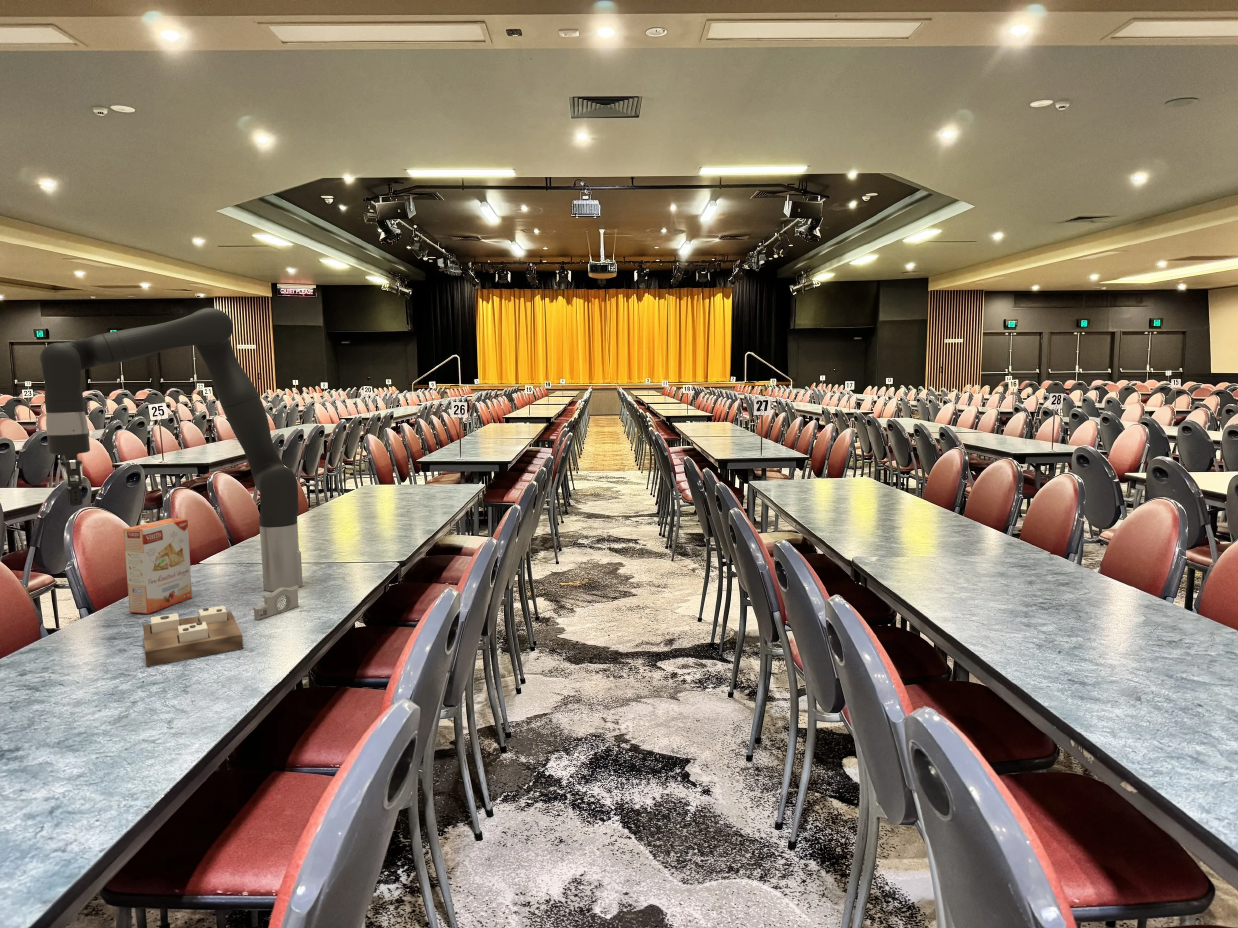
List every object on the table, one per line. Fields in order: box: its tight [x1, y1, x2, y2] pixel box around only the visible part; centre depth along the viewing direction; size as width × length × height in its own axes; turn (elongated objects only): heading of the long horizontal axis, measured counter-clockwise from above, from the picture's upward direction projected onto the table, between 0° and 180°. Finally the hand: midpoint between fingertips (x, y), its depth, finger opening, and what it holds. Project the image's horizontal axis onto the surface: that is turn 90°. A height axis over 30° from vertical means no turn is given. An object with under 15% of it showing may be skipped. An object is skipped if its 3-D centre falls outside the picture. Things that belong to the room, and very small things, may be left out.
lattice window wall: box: [252, 586, 300, 621], centre depth 176 cm, size 12×2×6 cm, turn 154°
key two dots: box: [198, 605, 227, 624], centre depth 162 cm, size 5×5×4 cm
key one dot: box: [150, 612, 180, 633], centre depth 157 cm, size 5×5×4 cm
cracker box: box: [123, 517, 193, 615], centre depth 181 cm, size 14×6×21 cm, turn 168°
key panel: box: [142, 610, 244, 668], centre depth 156 cm, size 17×19×3 cm
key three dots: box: [178, 622, 208, 643], centre depth 151 cm, size 5×5×4 cm
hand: (75, 502), depth 168 cm, fingers open, 8 cm apart
